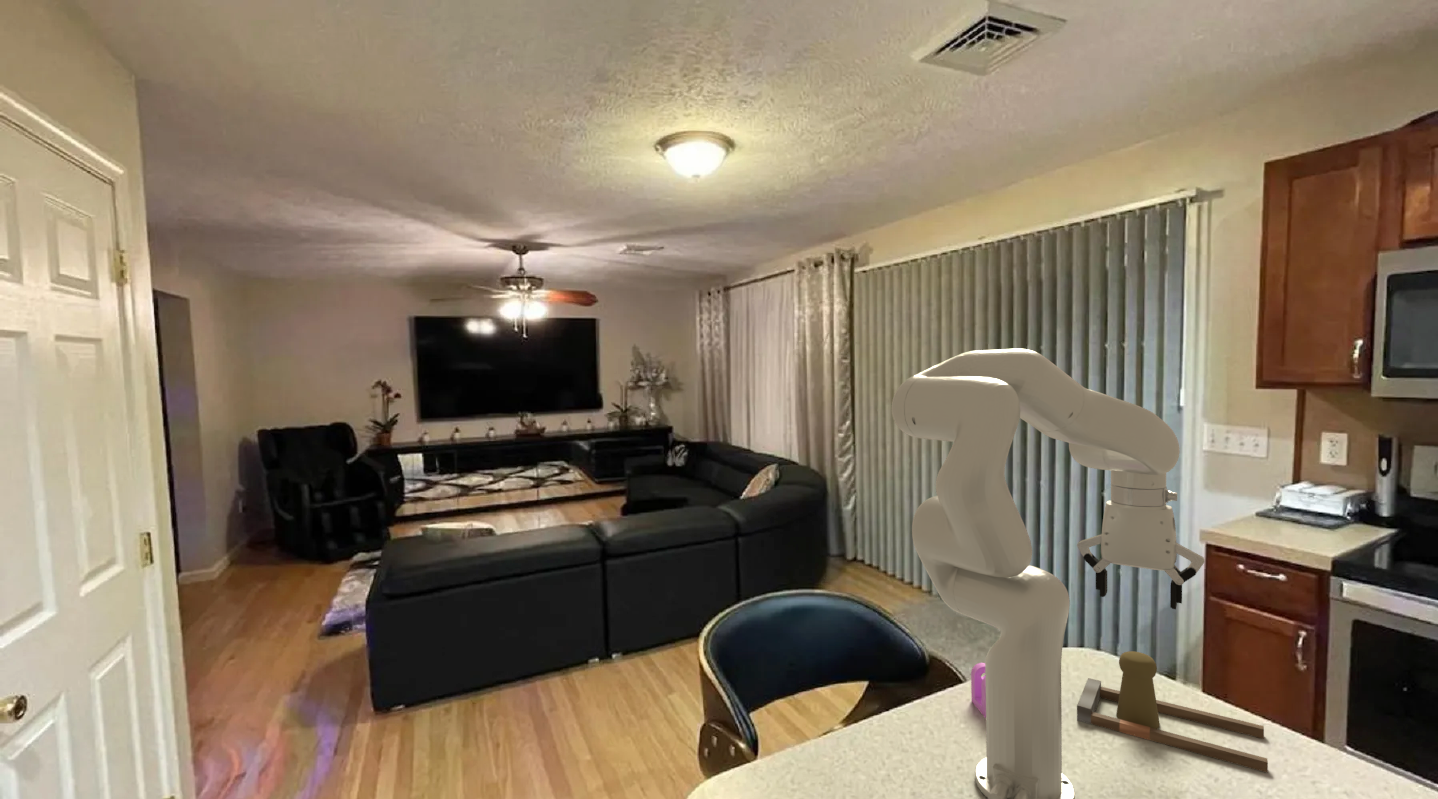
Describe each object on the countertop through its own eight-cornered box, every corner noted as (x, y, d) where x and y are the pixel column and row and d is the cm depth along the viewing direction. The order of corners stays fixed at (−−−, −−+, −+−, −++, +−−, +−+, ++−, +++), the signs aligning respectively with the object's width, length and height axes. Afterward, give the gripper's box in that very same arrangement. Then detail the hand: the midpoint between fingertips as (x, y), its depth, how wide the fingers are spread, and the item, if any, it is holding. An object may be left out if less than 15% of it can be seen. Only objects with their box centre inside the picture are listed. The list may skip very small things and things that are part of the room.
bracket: (985, 718, 108) (984, 678, 107) (971, 701, 113) (971, 663, 113) (1061, 715, 108) (1061, 675, 108) (1044, 698, 113) (1044, 660, 113)
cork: (1167, 731, 102) (1167, 664, 101) (1125, 728, 103) (1124, 662, 103) (1149, 711, 108) (1149, 647, 107) (1110, 709, 109) (1110, 645, 109)
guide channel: (1267, 772, 91) (1267, 755, 91) (1077, 720, 106) (1077, 705, 106) (1263, 735, 100) (1263, 719, 100) (1088, 691, 115) (1088, 677, 115)
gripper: (1205, 498, 101) (1204, 604, 102) (1081, 487, 112) (1081, 584, 113) (1204, 506, 96) (1203, 619, 96) (1073, 495, 106) (1073, 596, 107)
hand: (1137, 600), depth 105 cm, fingers open, 9 cm apart
